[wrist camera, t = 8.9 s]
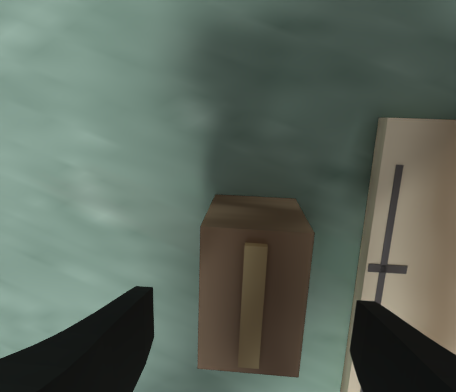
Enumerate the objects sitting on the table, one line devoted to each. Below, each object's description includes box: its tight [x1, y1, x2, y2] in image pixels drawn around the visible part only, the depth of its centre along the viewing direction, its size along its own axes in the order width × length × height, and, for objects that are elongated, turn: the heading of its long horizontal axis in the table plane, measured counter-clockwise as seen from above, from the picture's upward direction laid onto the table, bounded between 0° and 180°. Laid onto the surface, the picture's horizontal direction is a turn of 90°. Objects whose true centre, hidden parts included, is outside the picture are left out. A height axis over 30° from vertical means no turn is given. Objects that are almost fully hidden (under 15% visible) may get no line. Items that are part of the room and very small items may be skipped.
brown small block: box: [198, 194, 315, 377], centre depth 14 cm, size 4×6×5 cm, turn 178°
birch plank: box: [340, 118, 456, 392], centre depth 17 cm, size 6×24×1 cm, turn 178°
